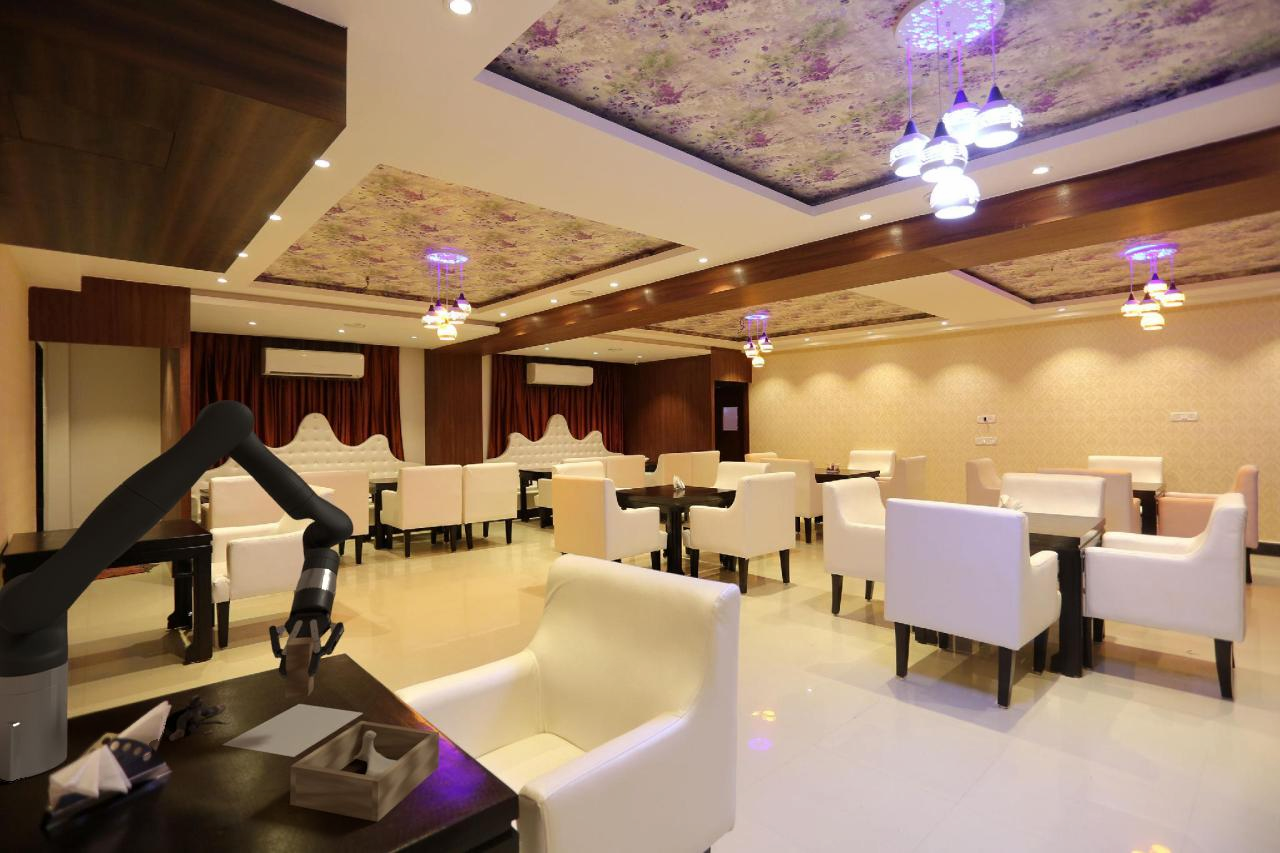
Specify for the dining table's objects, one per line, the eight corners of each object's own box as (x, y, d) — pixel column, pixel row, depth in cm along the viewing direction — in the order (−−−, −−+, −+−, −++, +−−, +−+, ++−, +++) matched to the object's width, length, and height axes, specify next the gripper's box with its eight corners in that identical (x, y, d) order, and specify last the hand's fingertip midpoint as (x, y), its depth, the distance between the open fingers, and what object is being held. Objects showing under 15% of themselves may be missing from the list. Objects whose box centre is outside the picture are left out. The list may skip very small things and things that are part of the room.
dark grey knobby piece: (190, 741, 116) (156, 696, 120) (171, 778, 118) (138, 733, 122) (250, 714, 127) (217, 673, 131) (232, 748, 129) (200, 707, 133)
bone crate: (377, 821, 94) (378, 781, 94) (290, 804, 98) (290, 766, 98) (438, 766, 109) (439, 732, 109) (360, 754, 114) (361, 720, 114)
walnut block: (284, 698, 118) (286, 644, 118) (290, 690, 122) (292, 638, 122) (308, 696, 119) (309, 643, 119) (313, 688, 123) (314, 636, 123)
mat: (293, 760, 111) (293, 756, 111) (222, 747, 116) (222, 744, 116) (363, 715, 129) (363, 713, 129) (299, 706, 133) (299, 703, 133)
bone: (370, 772, 98) (373, 720, 107) (343, 800, 99) (348, 746, 107) (424, 789, 104) (423, 739, 112) (399, 816, 104) (399, 763, 113)
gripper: (273, 587, 126) (250, 669, 114) (349, 584, 130) (335, 664, 118) (280, 606, 131) (259, 687, 119) (353, 603, 135) (340, 681, 123)
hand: (297, 675), depth 119 cm, fingers closed on walnut block, 4 cm apart
